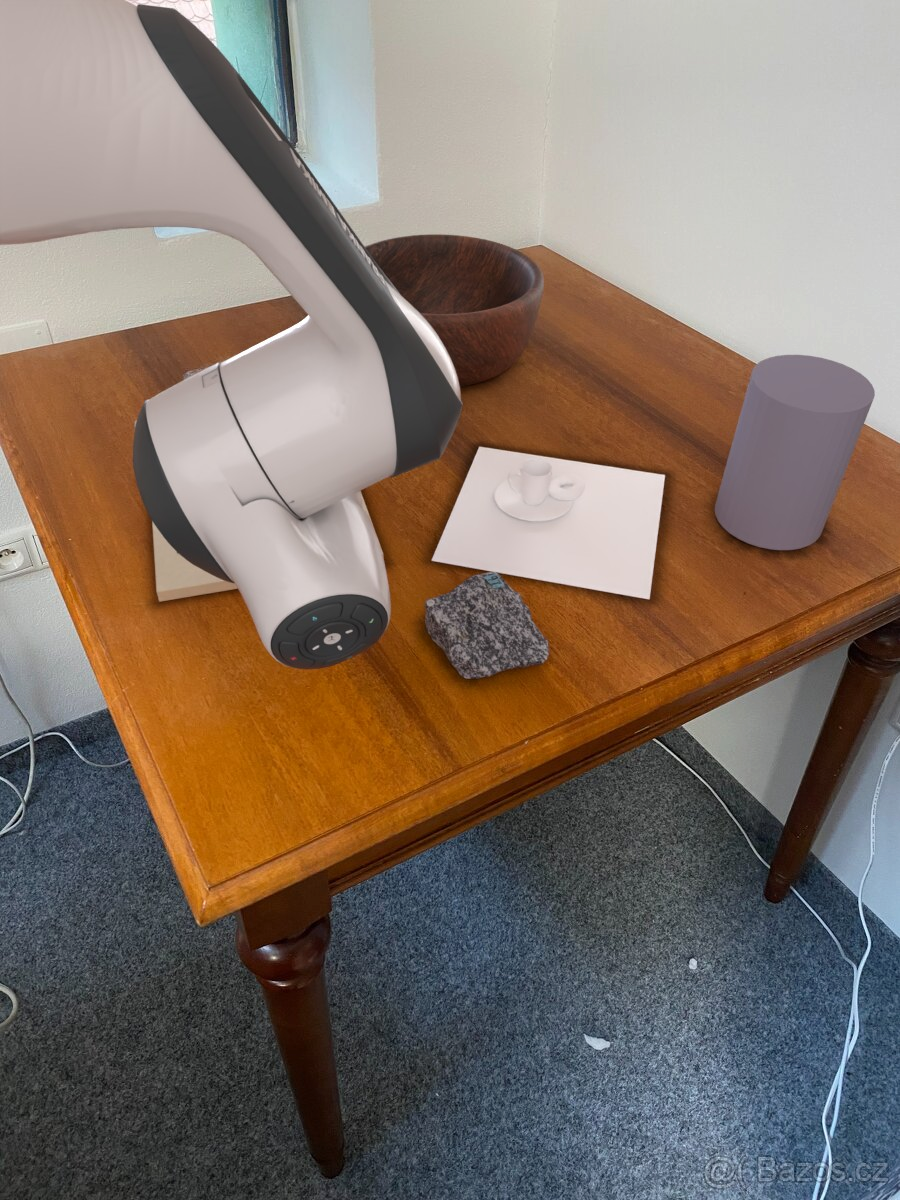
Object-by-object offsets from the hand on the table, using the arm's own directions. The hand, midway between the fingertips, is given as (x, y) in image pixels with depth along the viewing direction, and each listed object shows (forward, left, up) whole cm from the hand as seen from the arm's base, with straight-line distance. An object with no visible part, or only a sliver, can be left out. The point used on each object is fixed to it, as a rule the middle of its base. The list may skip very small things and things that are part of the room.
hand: (265, 387), depth 71 cm
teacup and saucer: (+26, -2, -17) cm, 31 cm away
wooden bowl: (+24, +34, -17) cm, 45 cm away
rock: (+14, -17, -17) cm, 28 cm away
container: (+46, -8, -17) cm, 50 cm away
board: (-2, +5, -16) cm, 17 cm away
